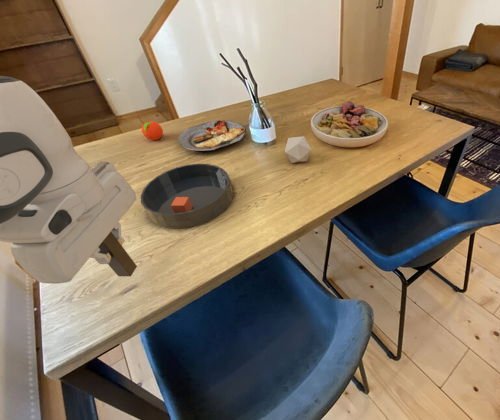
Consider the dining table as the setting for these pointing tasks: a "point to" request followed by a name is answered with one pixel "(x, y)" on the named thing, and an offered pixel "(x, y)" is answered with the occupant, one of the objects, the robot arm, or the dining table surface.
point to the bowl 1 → (188, 195)
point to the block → (181, 204)
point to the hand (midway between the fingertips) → (113, 252)
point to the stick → (118, 256)
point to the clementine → (152, 130)
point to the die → (297, 149)
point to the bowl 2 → (349, 125)
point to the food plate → (212, 135)
